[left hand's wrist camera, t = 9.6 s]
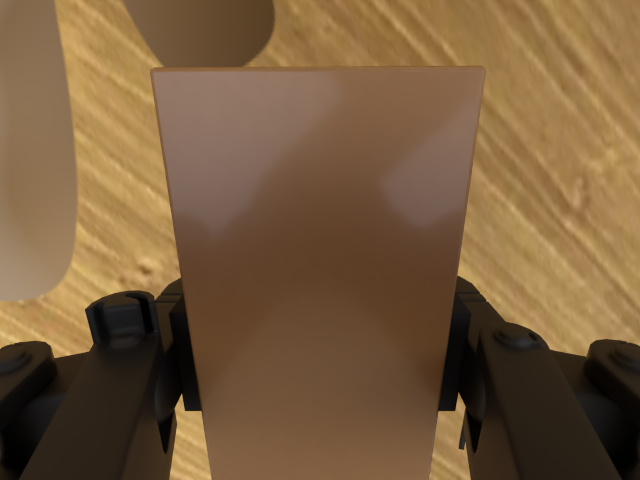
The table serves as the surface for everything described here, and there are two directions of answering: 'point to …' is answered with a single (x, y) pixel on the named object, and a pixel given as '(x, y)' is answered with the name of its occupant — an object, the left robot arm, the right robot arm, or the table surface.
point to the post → (319, 258)
